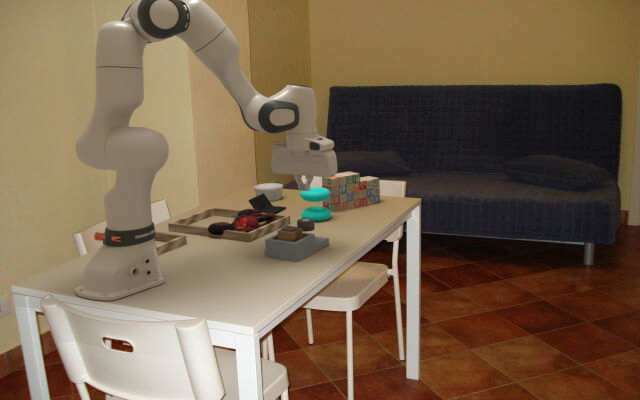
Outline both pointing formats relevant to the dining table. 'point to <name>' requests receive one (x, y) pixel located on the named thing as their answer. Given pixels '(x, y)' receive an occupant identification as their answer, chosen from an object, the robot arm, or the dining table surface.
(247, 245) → the dining table surface
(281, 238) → the brown block
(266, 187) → the ramekin
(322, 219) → the donuts
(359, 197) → the stack of blocks
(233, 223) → the toy motorcycle
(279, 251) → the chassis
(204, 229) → the wooden open frame
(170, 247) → the wooden frame
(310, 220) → the wheel
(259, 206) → the handheld gaming console
